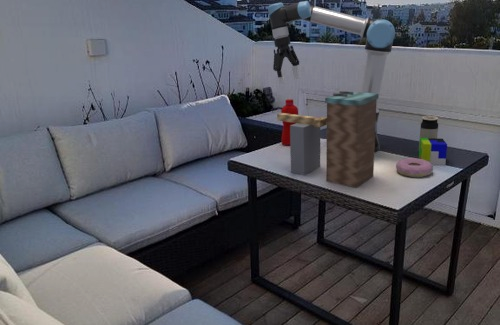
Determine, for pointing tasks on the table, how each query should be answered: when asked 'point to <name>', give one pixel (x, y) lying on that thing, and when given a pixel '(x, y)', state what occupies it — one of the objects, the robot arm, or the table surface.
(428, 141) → the puzzle toy
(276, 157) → the table surface
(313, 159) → the plinth
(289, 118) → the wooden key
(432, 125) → the travel mug
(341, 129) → the laundry hamper
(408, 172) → the donut
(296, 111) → the water bottle
